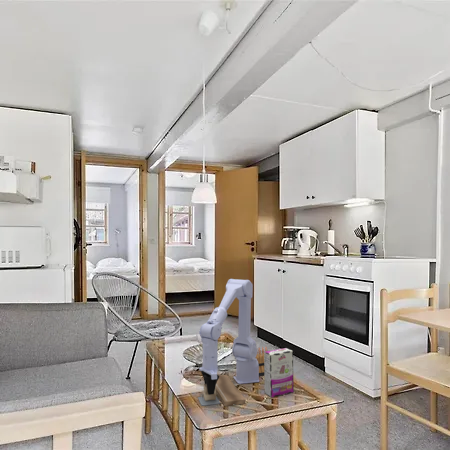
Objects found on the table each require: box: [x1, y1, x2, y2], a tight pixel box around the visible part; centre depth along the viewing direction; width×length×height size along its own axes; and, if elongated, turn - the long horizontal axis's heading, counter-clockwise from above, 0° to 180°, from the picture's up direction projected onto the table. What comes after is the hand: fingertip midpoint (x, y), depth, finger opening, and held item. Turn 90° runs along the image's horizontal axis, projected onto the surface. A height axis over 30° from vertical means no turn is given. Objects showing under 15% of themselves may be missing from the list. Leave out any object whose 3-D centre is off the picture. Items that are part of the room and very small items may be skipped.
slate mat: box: [197, 396, 221, 407], centre depth 135 cm, size 7×7×1 cm
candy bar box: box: [263, 347, 295, 398], centre depth 143 cm, size 11×5×16 cm, turn 117°
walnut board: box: [216, 374, 247, 407], centre depth 144 cm, size 8×26×2 cm, turn 16°
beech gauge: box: [203, 383, 217, 401], centre depth 136 cm, size 4×3×6 cm
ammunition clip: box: [256, 346, 269, 377], centre depth 164 cm, size 11×2×12 cm, turn 114°
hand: (209, 392), depth 136 cm, fingers closed on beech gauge, 3 cm apart
